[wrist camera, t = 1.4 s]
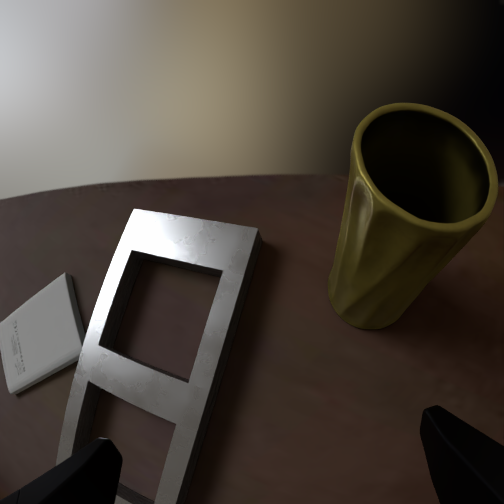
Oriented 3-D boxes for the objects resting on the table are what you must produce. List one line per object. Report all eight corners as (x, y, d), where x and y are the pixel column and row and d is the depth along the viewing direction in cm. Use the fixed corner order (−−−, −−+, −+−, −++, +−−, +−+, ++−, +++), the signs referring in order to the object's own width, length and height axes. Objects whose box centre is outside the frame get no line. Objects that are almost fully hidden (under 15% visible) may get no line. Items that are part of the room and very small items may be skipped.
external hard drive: (95, 354, 24) (19, 395, 24) (74, 276, 27) (5, 327, 27) (83, 351, 22) (8, 394, 22) (64, 270, 26) (-5, 323, 26)
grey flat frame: (262, 240, 24) (257, 228, 22) (171, 543, 16) (161, 552, 14) (144, 219, 27) (133, 208, 26) (67, 481, 19) (53, 484, 17)
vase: (345, 343, 20) (395, 279, 7) (315, 264, 23) (305, 114, 10) (422, 310, 20) (538, 209, 7) (388, 236, 22) (442, 84, 10)
